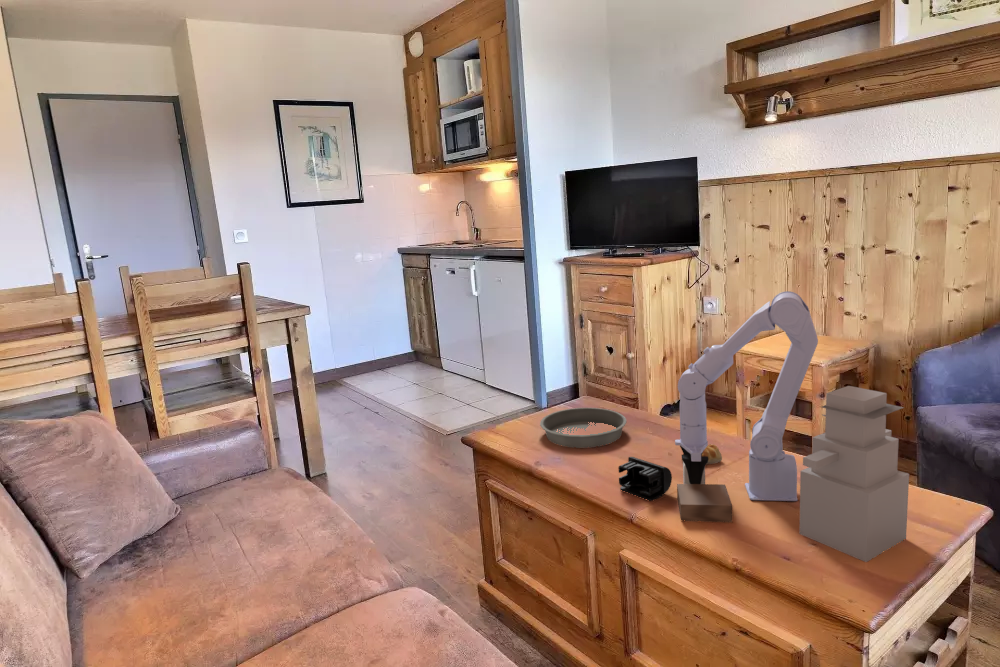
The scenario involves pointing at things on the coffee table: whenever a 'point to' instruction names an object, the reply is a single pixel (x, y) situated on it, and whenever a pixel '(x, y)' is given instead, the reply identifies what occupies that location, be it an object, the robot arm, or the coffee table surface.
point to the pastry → (712, 454)
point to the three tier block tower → (854, 478)
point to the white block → (686, 478)
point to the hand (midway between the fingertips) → (694, 479)
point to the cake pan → (582, 426)
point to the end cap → (644, 479)
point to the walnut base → (704, 502)
